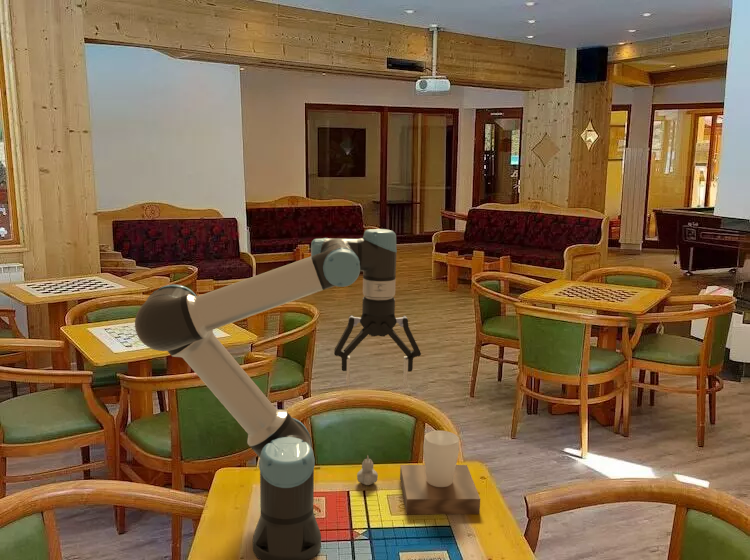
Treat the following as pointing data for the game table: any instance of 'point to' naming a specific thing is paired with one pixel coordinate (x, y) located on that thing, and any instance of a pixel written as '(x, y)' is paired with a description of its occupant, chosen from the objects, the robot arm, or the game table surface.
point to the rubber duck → (367, 473)
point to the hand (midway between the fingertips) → (376, 384)
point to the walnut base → (438, 492)
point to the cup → (440, 457)
